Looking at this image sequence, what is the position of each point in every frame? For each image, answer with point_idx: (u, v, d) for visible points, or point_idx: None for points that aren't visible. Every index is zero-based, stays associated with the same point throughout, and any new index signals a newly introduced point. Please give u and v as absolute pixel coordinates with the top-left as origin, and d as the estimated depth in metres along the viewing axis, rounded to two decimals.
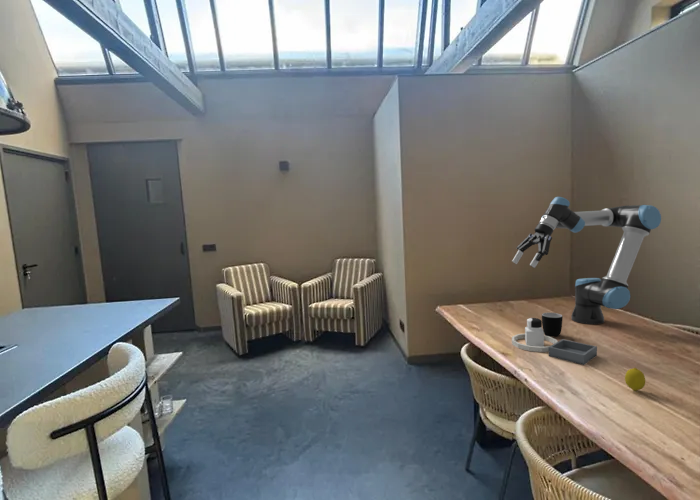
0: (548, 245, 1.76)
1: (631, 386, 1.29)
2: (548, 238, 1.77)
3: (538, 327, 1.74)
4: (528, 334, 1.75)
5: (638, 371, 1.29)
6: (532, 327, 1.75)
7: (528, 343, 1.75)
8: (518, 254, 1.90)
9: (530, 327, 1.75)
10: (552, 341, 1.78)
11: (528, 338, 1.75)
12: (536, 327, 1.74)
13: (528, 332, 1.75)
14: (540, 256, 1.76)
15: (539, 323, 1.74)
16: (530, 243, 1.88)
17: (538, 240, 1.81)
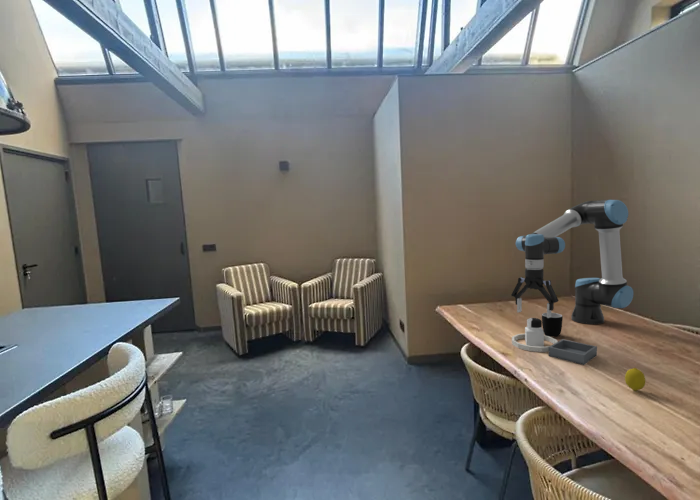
0: (553, 291, 1.69)
1: (631, 386, 1.29)
2: (549, 284, 1.69)
3: (538, 327, 1.74)
4: (528, 334, 1.75)
5: (638, 371, 1.29)
6: (532, 327, 1.75)
7: (528, 343, 1.75)
8: (519, 302, 1.80)
9: (530, 327, 1.75)
10: (552, 341, 1.78)
11: (528, 338, 1.75)
12: (536, 327, 1.74)
13: (528, 332, 1.75)
14: (552, 305, 1.69)
15: (539, 323, 1.74)
16: (526, 289, 1.78)
17: (539, 288, 1.72)
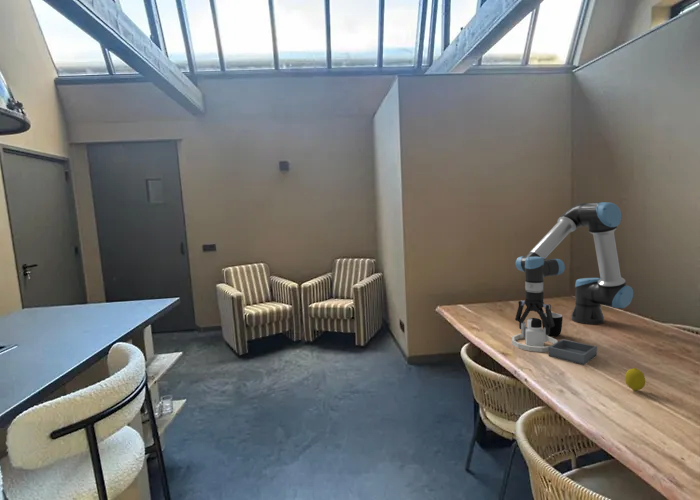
0: (551, 315, 1.71)
1: (631, 386, 1.29)
2: (549, 308, 1.71)
3: (538, 327, 1.74)
4: (528, 334, 1.75)
5: (638, 371, 1.29)
6: (532, 327, 1.75)
7: (528, 343, 1.75)
8: (523, 327, 1.80)
9: (530, 327, 1.75)
10: (552, 341, 1.78)
11: (528, 338, 1.75)
12: (536, 327, 1.74)
13: (528, 332, 1.75)
14: (549, 330, 1.72)
15: (539, 323, 1.74)
16: (528, 311, 1.78)
17: (538, 311, 1.73)
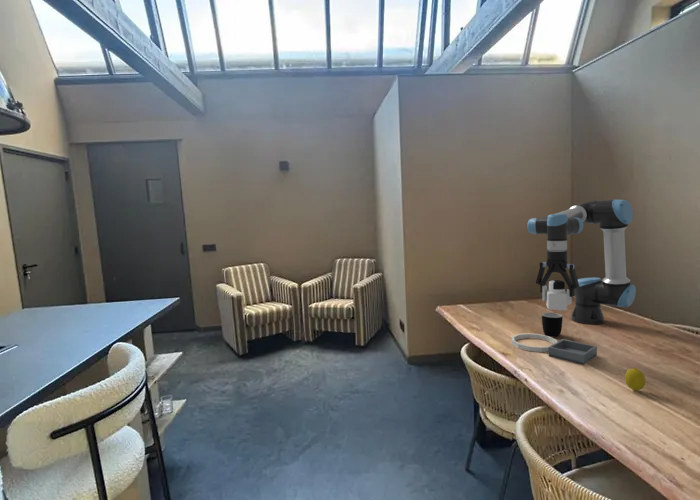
0: (575, 276, 1.59)
1: (631, 386, 1.29)
2: (573, 268, 1.59)
3: (561, 289, 1.63)
4: (550, 296, 1.64)
5: (638, 371, 1.29)
6: (554, 289, 1.63)
7: (550, 306, 1.64)
8: (544, 290, 1.69)
9: (552, 289, 1.64)
10: (552, 341, 1.78)
11: (550, 301, 1.64)
12: (559, 289, 1.63)
13: (550, 294, 1.64)
14: (573, 291, 1.60)
15: (562, 284, 1.63)
16: (550, 273, 1.67)
17: (561, 272, 1.62)
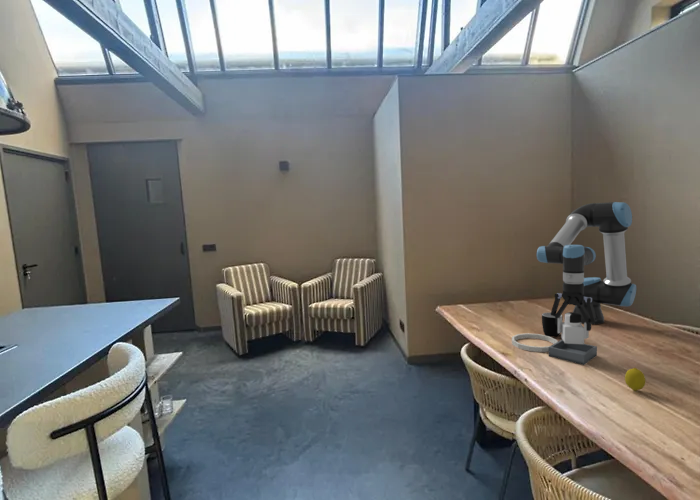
0: (593, 309, 1.55)
1: (631, 386, 1.29)
2: (590, 302, 1.54)
3: (578, 322, 1.58)
4: (566, 330, 1.59)
5: (638, 371, 1.29)
6: (571, 322, 1.58)
7: (566, 340, 1.59)
8: (560, 322, 1.64)
9: (568, 322, 1.59)
10: (552, 341, 1.78)
11: (566, 334, 1.59)
12: (575, 322, 1.58)
13: (566, 328, 1.59)
14: (590, 325, 1.56)
15: (579, 318, 1.58)
16: (566, 305, 1.62)
17: (578, 305, 1.57)
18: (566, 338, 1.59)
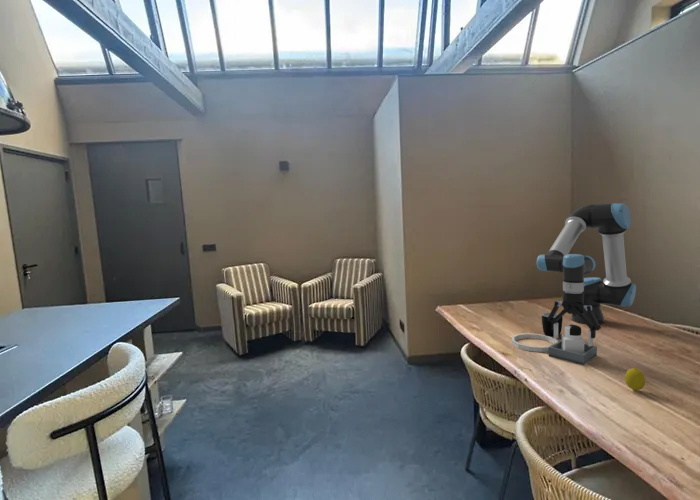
0: (595, 317, 1.55)
1: (631, 386, 1.29)
2: (591, 309, 1.55)
3: (578, 335, 1.58)
4: (566, 342, 1.59)
5: (638, 371, 1.29)
6: (571, 335, 1.59)
7: None
8: (556, 328, 1.66)
9: (568, 335, 1.60)
10: (552, 341, 1.78)
11: (566, 347, 1.59)
12: (575, 335, 1.58)
13: (566, 340, 1.59)
14: (594, 333, 1.55)
15: (579, 330, 1.58)
16: (564, 313, 1.63)
17: (579, 314, 1.57)
18: None
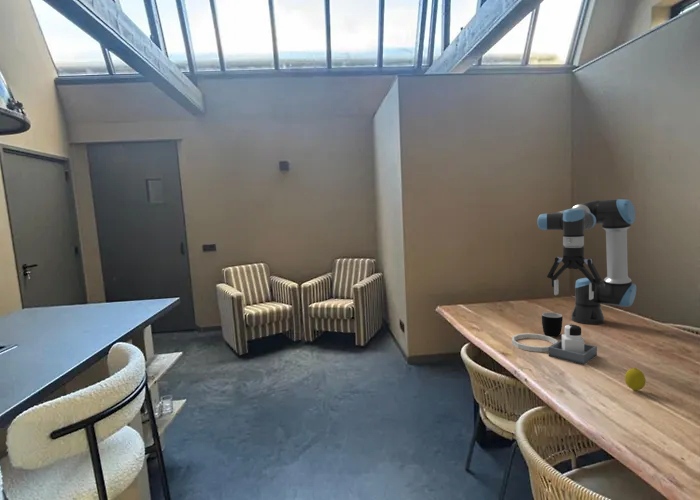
0: (595, 270, 1.55)
1: (631, 386, 1.29)
2: (591, 263, 1.55)
3: (578, 335, 1.58)
4: (566, 342, 1.59)
5: (638, 371, 1.29)
6: (571, 335, 1.59)
7: None
8: (556, 284, 1.67)
9: (568, 335, 1.60)
10: (552, 341, 1.78)
11: (566, 347, 1.59)
12: (575, 335, 1.58)
13: (566, 340, 1.59)
14: (595, 286, 1.55)
15: (579, 330, 1.58)
16: (564, 269, 1.64)
17: (579, 268, 1.58)
18: None
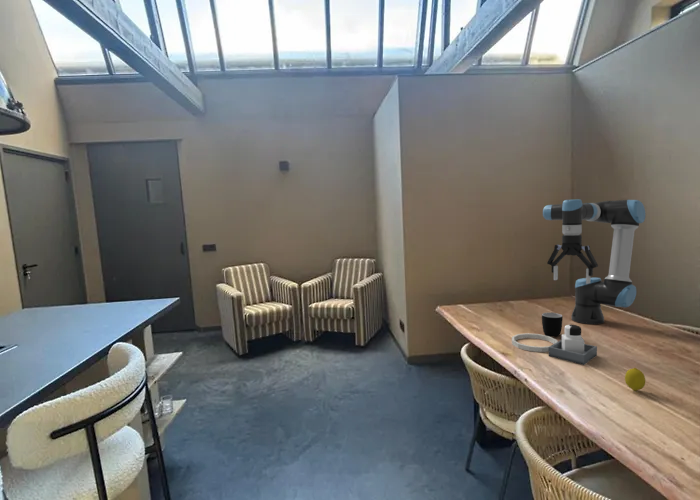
0: (592, 256, 1.67)
1: (631, 386, 1.29)
2: (588, 249, 1.67)
3: (578, 335, 1.58)
4: (566, 342, 1.59)
5: (638, 371, 1.29)
6: (571, 335, 1.59)
7: None
8: (555, 270, 1.78)
9: (568, 335, 1.60)
10: (552, 341, 1.78)
11: (566, 347, 1.59)
12: (575, 335, 1.58)
13: (566, 340, 1.59)
14: (592, 271, 1.67)
15: (579, 330, 1.58)
16: (563, 255, 1.75)
17: (577, 254, 1.69)
18: None
